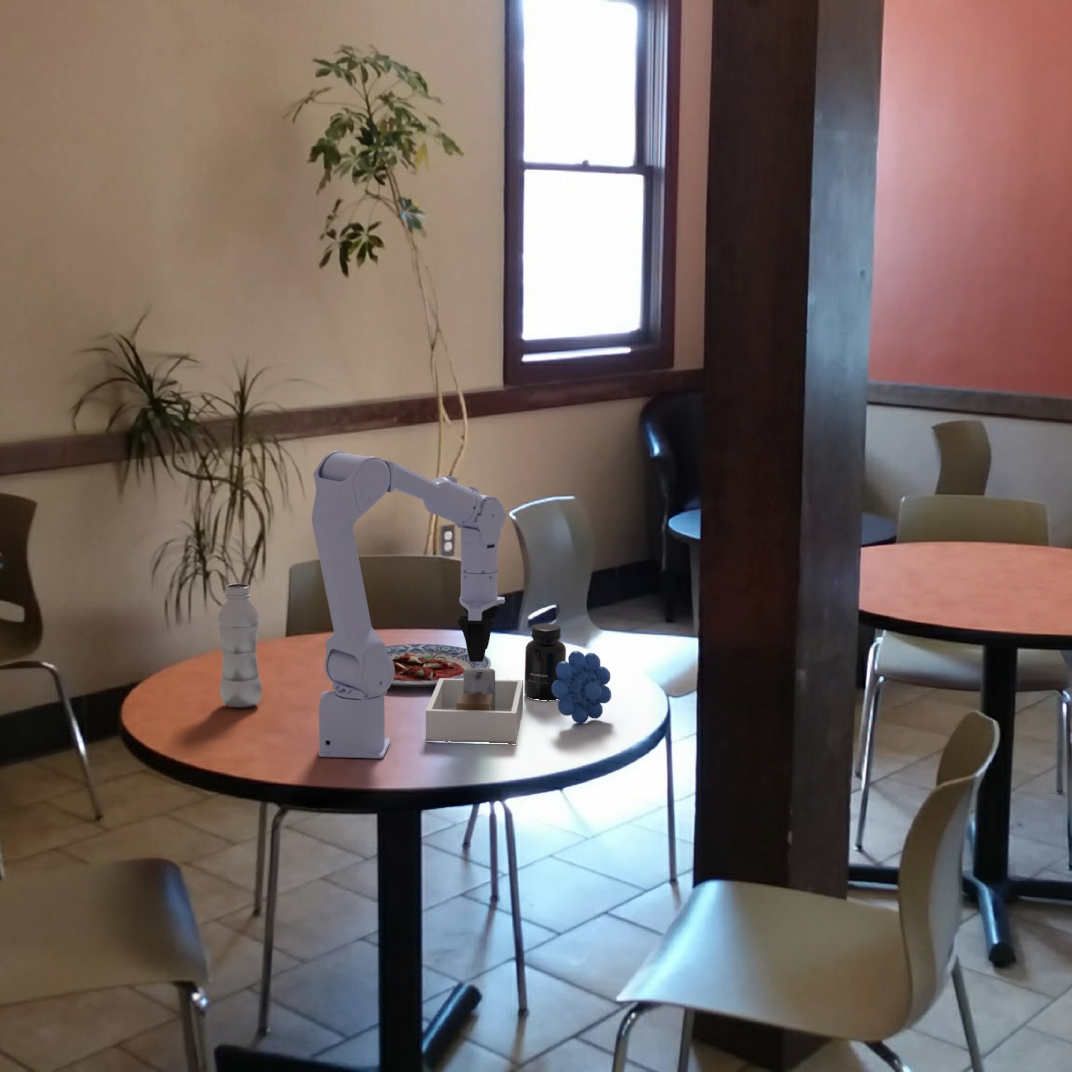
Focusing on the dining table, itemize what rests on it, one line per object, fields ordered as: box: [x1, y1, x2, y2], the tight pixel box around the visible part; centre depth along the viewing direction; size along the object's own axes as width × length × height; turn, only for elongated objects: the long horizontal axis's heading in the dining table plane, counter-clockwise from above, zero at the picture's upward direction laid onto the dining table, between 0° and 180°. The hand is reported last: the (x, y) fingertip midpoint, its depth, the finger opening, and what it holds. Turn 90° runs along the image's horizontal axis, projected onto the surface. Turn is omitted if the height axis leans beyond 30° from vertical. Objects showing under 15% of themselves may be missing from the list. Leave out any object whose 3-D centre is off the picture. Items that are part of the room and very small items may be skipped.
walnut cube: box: [456, 694, 492, 711], centre depth 216 cm, size 5×5×5 cm
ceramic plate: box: [385, 643, 492, 688], centre depth 250 cm, size 26×26×3 cm
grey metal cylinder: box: [463, 667, 496, 711], centre depth 224 cm, size 5×5×7 cm
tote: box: [425, 678, 524, 745], centre depth 220 cm, size 14×18×5 cm
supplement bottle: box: [523, 623, 567, 702], centre depth 236 cm, size 7×7×12 cm
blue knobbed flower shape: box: [552, 650, 612, 724], centre depth 221 cm, size 12×7×12 cm, turn 127°
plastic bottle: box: [217, 583, 263, 708], centre depth 228 cm, size 6×7×20 cm
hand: (478, 654), depth 223 cm, fingers open, 7 cm apart
